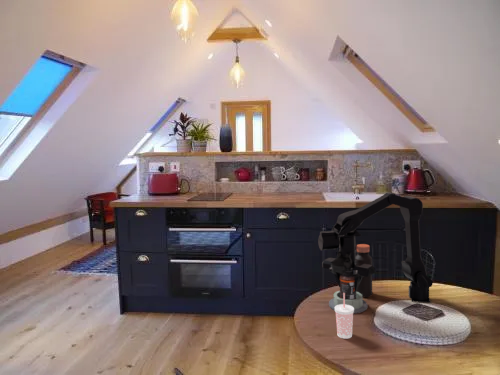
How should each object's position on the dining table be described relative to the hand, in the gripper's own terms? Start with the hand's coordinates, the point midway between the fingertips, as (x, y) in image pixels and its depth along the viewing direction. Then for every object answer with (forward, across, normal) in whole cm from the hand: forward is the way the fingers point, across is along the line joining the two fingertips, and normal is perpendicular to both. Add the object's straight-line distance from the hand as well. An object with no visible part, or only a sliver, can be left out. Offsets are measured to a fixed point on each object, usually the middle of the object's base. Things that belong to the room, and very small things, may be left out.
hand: (348, 288), depth 147 cm
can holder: (+6, 0, 0) cm, 7 cm away
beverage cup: (+7, +10, -21) cm, 24 cm away
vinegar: (+7, 0, +13) cm, 15 cm away
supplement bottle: (+4, 0, 0) cm, 4 cm away
